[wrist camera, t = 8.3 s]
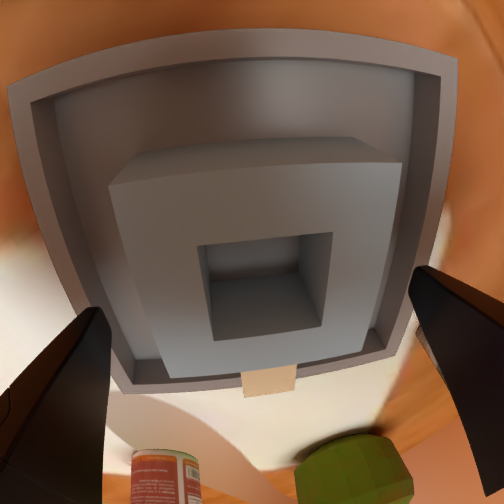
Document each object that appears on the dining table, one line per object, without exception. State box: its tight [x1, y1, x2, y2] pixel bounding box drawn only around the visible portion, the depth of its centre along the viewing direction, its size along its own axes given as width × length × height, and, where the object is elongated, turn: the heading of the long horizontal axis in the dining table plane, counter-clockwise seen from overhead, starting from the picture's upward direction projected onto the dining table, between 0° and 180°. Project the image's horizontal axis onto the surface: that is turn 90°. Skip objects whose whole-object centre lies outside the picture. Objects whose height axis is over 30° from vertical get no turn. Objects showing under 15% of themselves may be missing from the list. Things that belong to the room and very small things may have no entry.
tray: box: [7, 28, 458, 394], centre depth 10 cm, size 14×14×2 cm
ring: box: [108, 137, 402, 397], centre depth 10 cm, size 9×7×3 cm
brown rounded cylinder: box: [416, 326, 448, 388], centre depth 15 cm, size 2×2×4 cm
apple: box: [294, 434, 414, 504], centre depth 21 cm, size 11×11×11 cm
